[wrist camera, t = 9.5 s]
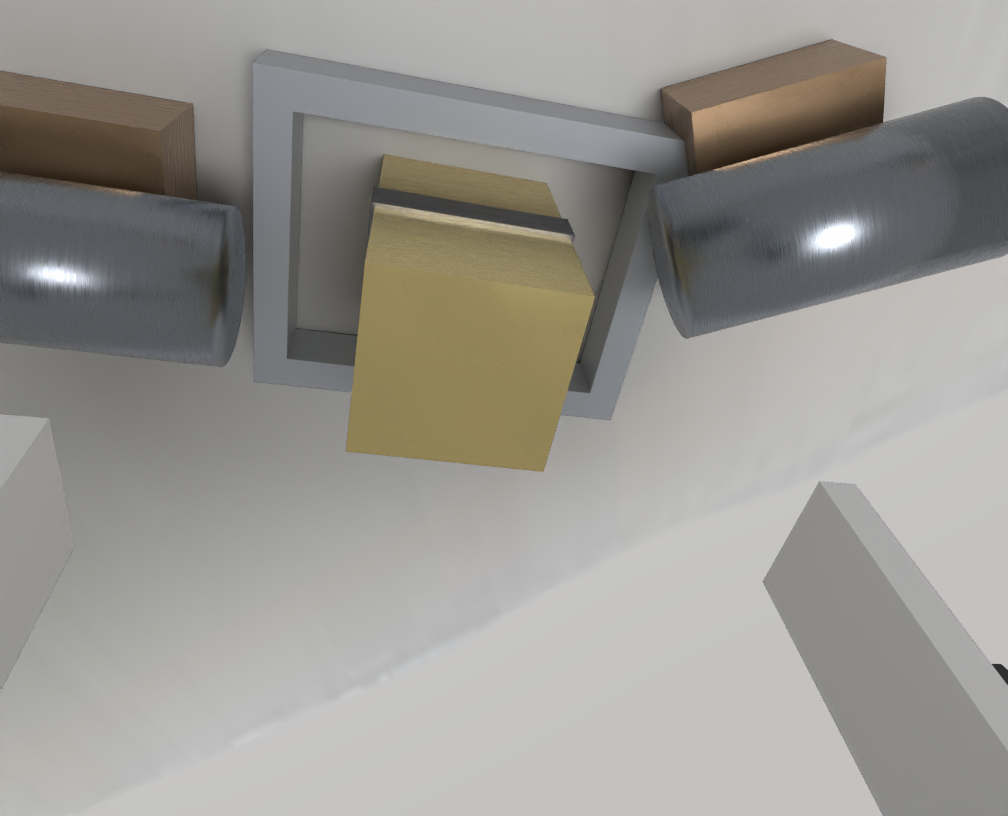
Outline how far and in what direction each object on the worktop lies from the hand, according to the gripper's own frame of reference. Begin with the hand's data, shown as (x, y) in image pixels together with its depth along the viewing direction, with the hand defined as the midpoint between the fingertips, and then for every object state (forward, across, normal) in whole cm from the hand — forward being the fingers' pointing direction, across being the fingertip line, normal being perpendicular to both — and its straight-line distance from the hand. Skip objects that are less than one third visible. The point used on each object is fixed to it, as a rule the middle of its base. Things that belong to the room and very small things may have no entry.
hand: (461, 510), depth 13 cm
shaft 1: (+13, -10, 0) cm, 16 cm away
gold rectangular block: (+13, 0, 0) cm, 13 cm away
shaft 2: (+12, +9, +4) cm, 16 cm away
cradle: (+13, +1, 0) cm, 13 cm away
